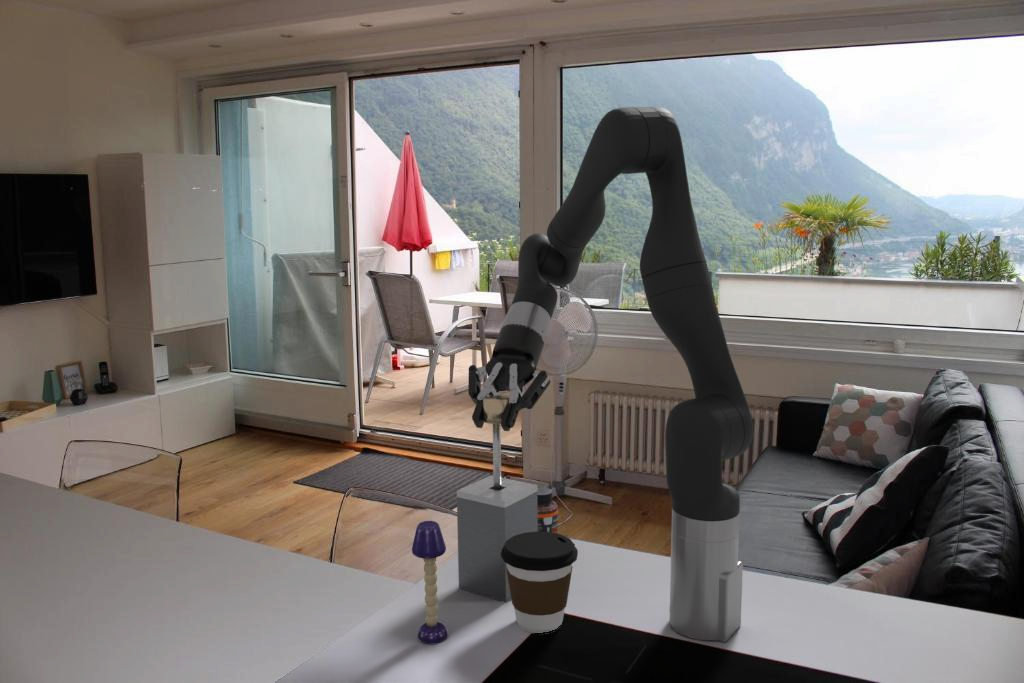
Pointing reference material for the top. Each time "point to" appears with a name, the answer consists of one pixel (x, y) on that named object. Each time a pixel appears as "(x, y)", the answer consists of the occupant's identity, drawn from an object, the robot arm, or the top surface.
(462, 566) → the block with hole
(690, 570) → the robot arm
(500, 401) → the tan rounded stemmed piece
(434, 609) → the toy lamp
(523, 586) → the coffee cup
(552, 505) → the supplement bottle
